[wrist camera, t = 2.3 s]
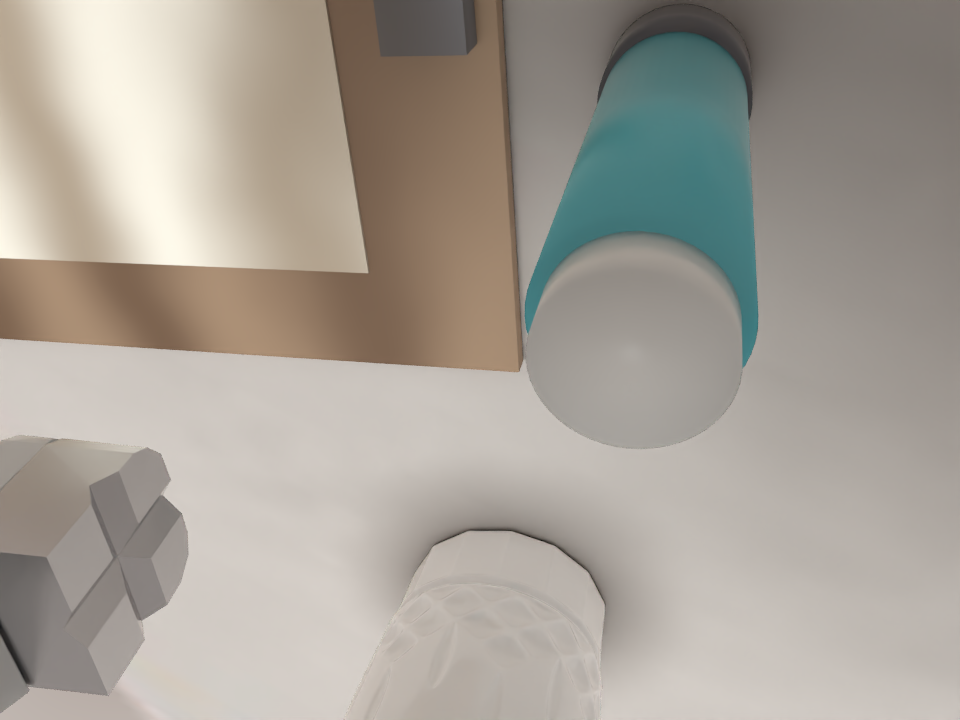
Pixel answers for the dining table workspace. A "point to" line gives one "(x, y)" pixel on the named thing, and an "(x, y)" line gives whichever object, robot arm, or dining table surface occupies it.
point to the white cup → (489, 637)
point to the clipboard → (260, 179)
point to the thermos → (653, 242)
